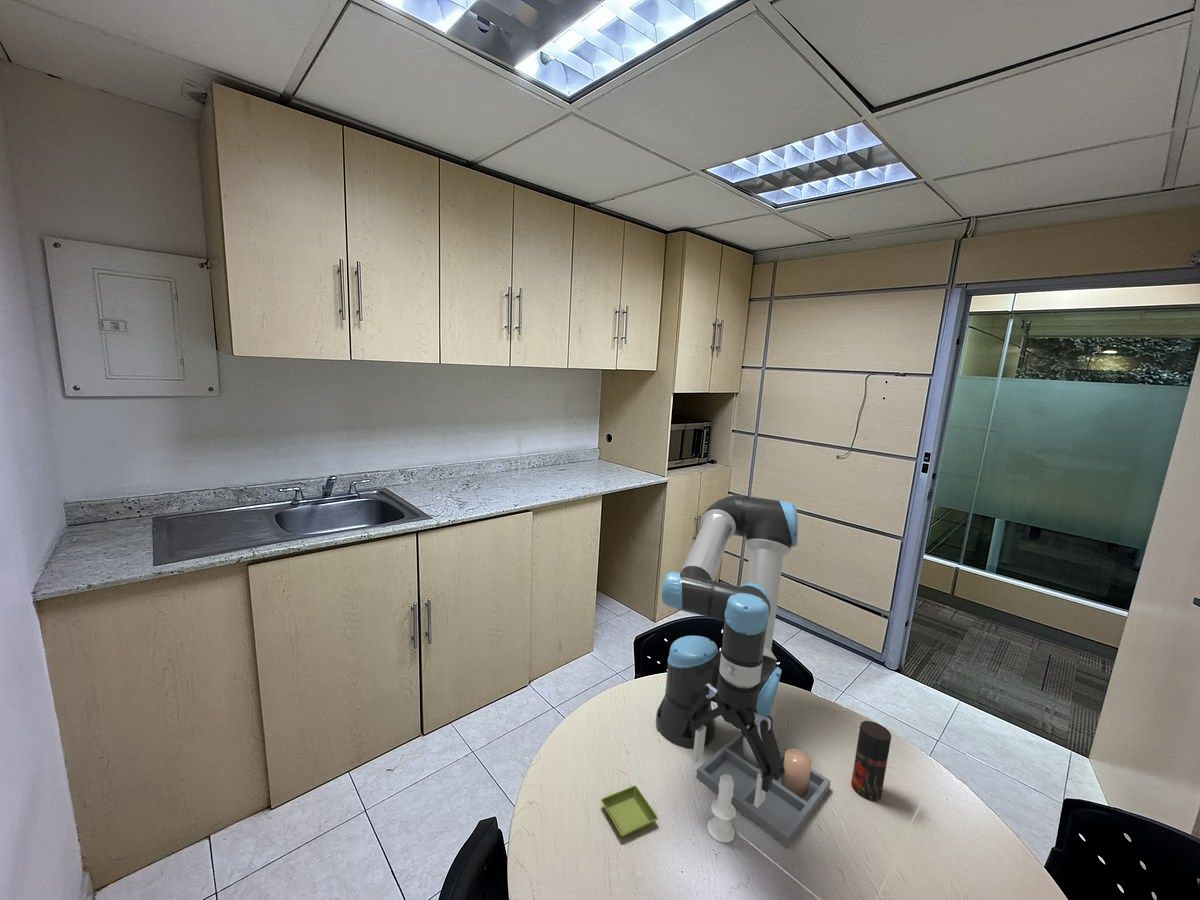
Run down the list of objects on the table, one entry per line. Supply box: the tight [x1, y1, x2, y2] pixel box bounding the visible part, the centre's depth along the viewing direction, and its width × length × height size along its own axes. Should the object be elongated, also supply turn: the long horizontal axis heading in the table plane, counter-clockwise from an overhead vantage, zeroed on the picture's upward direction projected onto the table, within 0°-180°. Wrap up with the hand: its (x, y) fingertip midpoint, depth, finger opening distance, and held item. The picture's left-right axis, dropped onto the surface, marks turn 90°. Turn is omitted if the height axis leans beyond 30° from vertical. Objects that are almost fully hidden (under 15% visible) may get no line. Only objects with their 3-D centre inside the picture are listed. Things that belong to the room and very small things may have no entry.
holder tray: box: [695, 730, 832, 848], centre depth 105 cm, size 21×21×2 cm
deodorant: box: [850, 720, 892, 802], centre depth 104 cm, size 6×6×15 cm
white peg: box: [706, 774, 737, 844], centre depth 92 cm, size 5×5×12 cm
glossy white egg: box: [741, 723, 763, 768], centre depth 111 cm, size 6×6×7 cm
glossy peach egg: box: [781, 747, 813, 797], centre depth 104 cm, size 6×6×7 cm
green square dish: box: [600, 785, 659, 837], centre depth 95 cm, size 9×9×2 cm
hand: (726, 779), depth 91 cm, fingers open, 13 cm apart
